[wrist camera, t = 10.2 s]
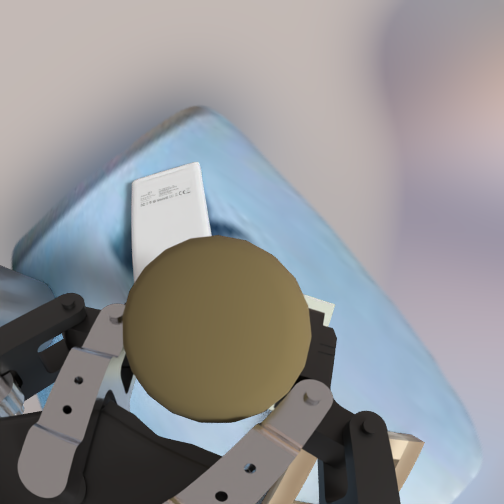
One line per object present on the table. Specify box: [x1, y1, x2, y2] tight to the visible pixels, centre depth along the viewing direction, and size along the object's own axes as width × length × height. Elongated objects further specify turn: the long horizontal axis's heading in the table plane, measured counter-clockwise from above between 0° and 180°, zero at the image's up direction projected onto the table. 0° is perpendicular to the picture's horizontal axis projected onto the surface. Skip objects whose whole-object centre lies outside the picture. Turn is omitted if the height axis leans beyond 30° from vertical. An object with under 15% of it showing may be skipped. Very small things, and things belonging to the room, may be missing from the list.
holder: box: [261, 432, 425, 504], centre depth 18 cm, size 12×12×3 cm
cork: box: [122, 235, 312, 423], centre depth 11 cm, size 6×6×11 cm
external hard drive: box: [131, 162, 212, 283], centre depth 28 cm, size 2×8×12 cm
